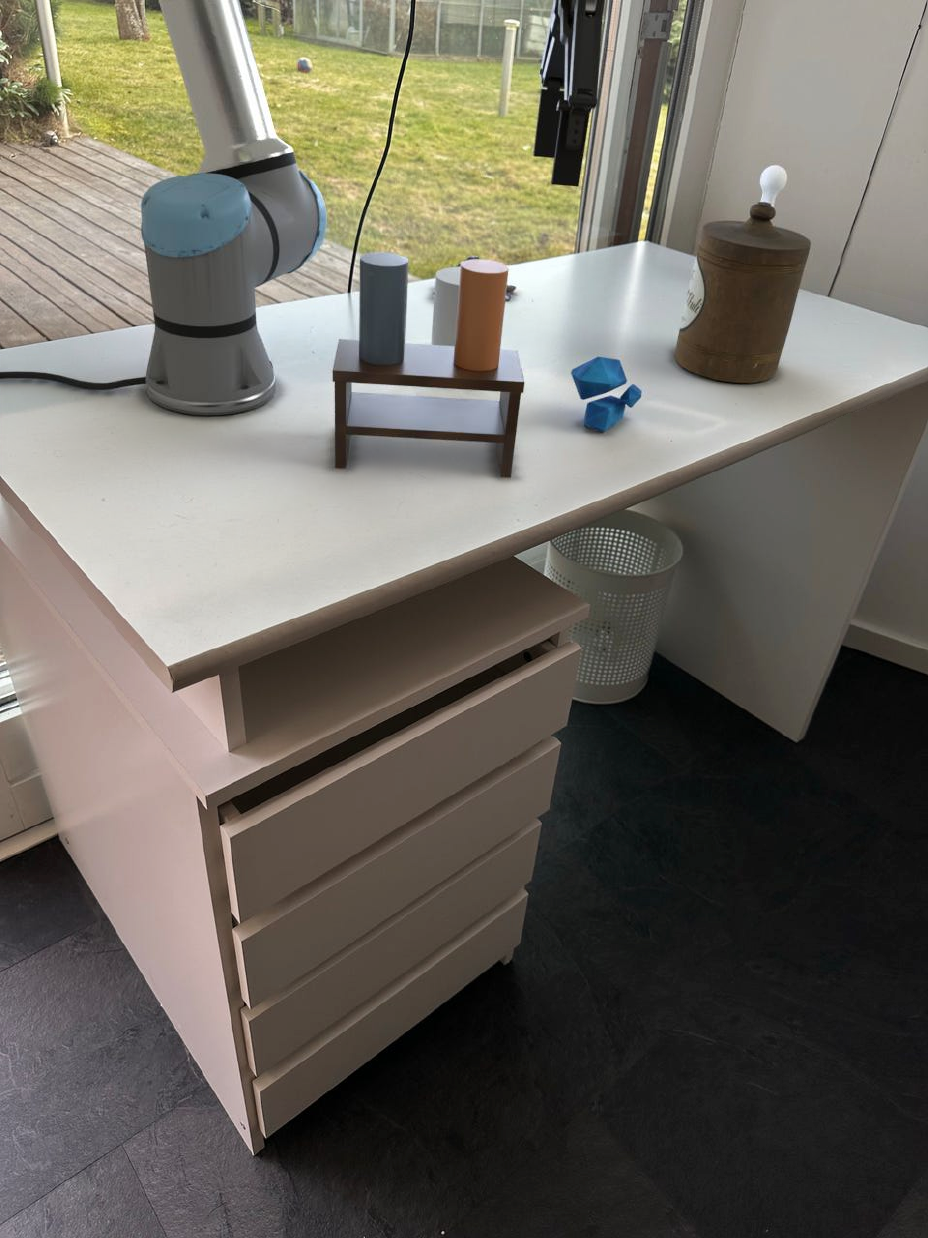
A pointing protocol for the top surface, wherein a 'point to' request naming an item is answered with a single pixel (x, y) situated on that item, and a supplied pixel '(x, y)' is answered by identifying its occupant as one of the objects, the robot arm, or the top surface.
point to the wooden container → (741, 298)
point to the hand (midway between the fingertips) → (554, 170)
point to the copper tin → (480, 314)
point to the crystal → (603, 392)
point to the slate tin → (382, 308)
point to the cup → (445, 306)
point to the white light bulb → (772, 183)
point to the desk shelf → (427, 400)
